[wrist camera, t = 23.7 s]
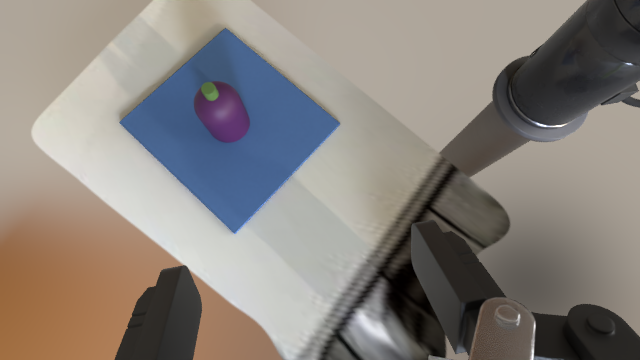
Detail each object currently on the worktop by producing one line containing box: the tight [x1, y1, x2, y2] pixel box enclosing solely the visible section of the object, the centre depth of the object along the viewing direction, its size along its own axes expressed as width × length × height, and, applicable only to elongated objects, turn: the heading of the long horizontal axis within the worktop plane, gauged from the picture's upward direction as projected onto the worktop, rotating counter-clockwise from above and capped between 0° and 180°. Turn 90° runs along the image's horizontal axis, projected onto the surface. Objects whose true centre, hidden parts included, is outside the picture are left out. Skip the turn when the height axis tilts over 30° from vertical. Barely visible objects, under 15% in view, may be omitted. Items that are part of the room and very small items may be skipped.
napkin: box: [119, 28, 340, 234], centre depth 44 cm, size 20×18×1 cm
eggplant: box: [194, 81, 250, 143], centre depth 39 cm, size 5×5×9 cm
